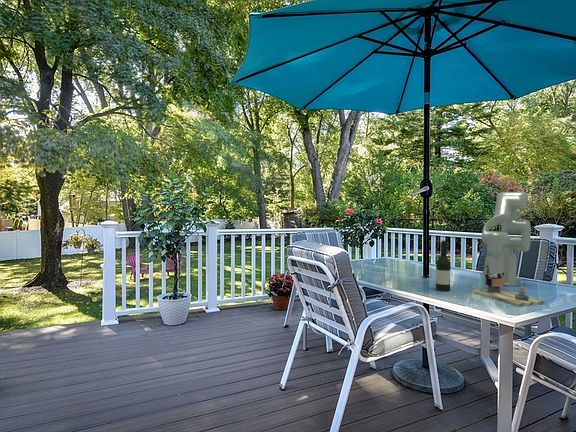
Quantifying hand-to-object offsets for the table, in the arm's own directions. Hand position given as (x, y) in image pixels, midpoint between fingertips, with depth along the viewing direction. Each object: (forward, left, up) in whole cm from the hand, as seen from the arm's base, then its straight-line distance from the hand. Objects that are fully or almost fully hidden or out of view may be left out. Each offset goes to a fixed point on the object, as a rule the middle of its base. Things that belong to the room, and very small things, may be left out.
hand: (494, 284), depth 213 cm
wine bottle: (+21, -17, -6) cm, 28 cm away
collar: (0, 0, 0) cm, 0 cm away
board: (0, +9, -6) cm, 11 cm away
